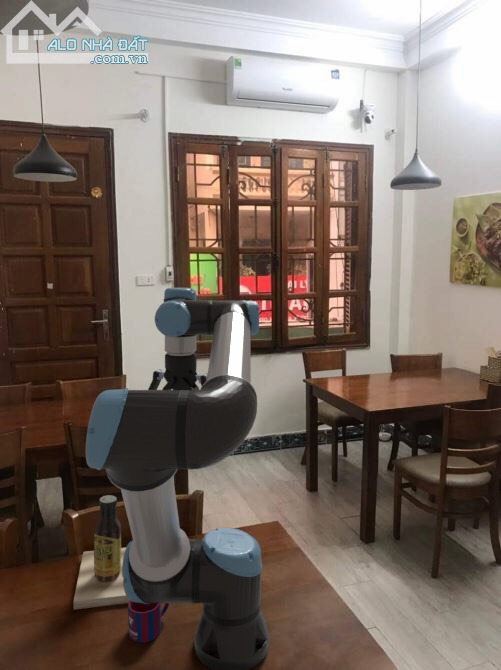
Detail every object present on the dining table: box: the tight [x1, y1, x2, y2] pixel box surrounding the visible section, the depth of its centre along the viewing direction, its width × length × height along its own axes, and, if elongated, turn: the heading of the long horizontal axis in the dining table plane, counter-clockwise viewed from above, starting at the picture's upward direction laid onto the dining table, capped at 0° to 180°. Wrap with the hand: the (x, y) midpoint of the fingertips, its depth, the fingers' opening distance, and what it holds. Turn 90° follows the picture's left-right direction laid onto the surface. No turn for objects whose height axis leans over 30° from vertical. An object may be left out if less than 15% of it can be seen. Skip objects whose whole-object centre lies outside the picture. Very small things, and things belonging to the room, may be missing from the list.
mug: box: [127, 600, 170, 644], centre depth 109 cm, size 7×10×7 cm
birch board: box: [73, 547, 130, 611], centre depth 126 cm, size 20×14×2 cm
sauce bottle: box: [93, 494, 122, 581], centre depth 123 cm, size 7×6×20 cm
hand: (181, 438), depth 126 cm, fingers open, 13 cm apart
